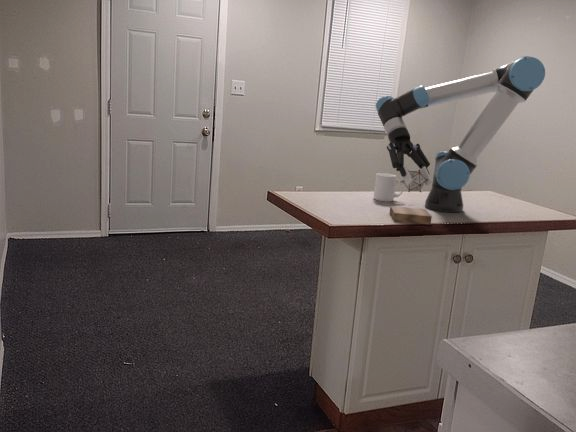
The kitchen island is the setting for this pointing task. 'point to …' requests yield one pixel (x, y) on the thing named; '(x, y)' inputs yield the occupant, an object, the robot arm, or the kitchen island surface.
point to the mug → (386, 187)
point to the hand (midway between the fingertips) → (419, 183)
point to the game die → (415, 181)
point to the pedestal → (410, 215)
